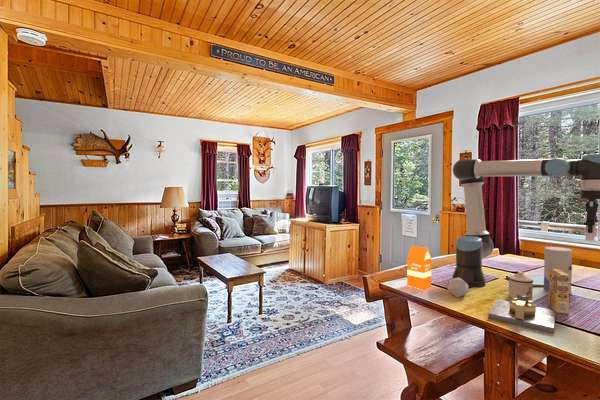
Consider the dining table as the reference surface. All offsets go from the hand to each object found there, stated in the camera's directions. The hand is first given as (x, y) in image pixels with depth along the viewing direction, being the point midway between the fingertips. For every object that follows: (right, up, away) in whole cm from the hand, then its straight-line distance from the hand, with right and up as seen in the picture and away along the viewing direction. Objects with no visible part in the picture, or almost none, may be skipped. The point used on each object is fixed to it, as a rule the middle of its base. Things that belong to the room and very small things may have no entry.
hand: (590, 238), depth 135 cm
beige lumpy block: (-44, -25, -19) cm, 54 cm away
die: (-55, -27, +7) cm, 61 cm away
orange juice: (-67, -27, +19) cm, 75 cm away
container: (-5, -26, +12) cm, 29 cm away
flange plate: (-42, -28, -17) cm, 53 cm away
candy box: (-23, -27, -10) cm, 37 cm away
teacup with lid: (-28, -27, +3) cm, 39 cm away
